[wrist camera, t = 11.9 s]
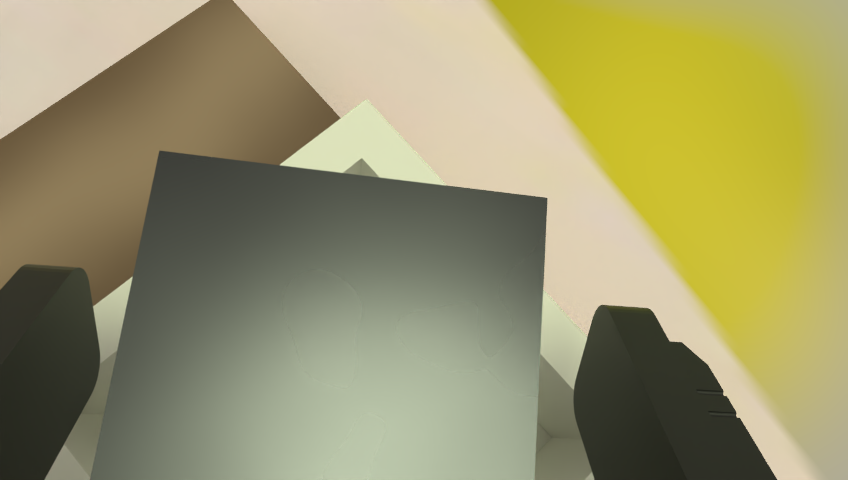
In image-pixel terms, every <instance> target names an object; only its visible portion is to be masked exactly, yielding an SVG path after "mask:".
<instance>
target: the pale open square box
mask: <svg viewBox="0 0 848 480" xmlns="http://www.w3.org/2000/svg"><path fill="white" fill-rule="evenodd" d="M280 165H282V166H290V167H298V168H306V169H315V170H323V171H331V172H339V173H347V174H355V175H364V176H372V177H380V178H388V179H396V180H404V181H413V182H421V183H429V184H437V185H445V186H447V185H446V184H445V183H444V182H443V181H442V180H441V179H440V177H439V176H438V175H437V174H436V173H435V172H434V171H433V170H432V169H431V168H430V167H429V166H428V165H427V163H426V162H425V161H424V160H423V159H422V158H421V157H420V156H419V155H418V154H417V153H416V152H415V151H414V149H413V148H412V147H411V146H410V145H409V144H408V143H407V142H406V141H405V140H404V139H403V138H402V137H401V135H400V134H399V133H398V132H397V131H396V130H395V129H394V128H393V127H392V126H391V125H390V124H389V122H388V121H387V120H386V119H385V118H384V117H383V116H382V115H381V114H380V113H379V112H378V111H377V110H376V108H375V107H374V106H373V105H372V104H371V103H370V102H369V101H368V100H367V99H366V100H364V101H363V102H362V103H360V104H359V105H358V106H356V107H355V108H354V109H352V110H351V111H350V112H348V113H347V114H346V115H344V116H343V117H342V118H341V119H339V120H338V121H337V122H335V123H334V124H333V125H331V126H330V127H329V128H327V129H326V130H325V131H323V132H322V133H321V134H319V135H318V136H317V137H316V138H314V139H313V140H312V141H310V142H309V143H308V144H306V145H305V146H304V147H302V148H301V149H300V150H298V151H297V152H296V153H294V154H293V155H292V156H291V157H289V158H288V159H287V160H285V161H284V162H283V163H281V164H280ZM132 278H133V277H131V278H130V279H129V280H127V281H126V282H125V283H123V284H122V285H121V286H119V287H118V288H117V289H116V290H114V291H113V292H112V293H110V294H109V295H108V296H106V297H105V298H104V299H102V300H101V301H100V302H98V303H97V304H96V305H94V306H93V309H94V316H95V322H96V328H97V335H98V341H99V348H100V368H99V374H98V378H97V382H96V385H95V388H94V390H93V392H92V395H91V396H90V398H89V400H88V402H87V404H86V405H85V407H84V409H83V411H82V413H81V414H80V416H79V418H78V420H77V422H76V424H75V425H74V427H73V429H72V431H71V433H70V434H69V436H68V438H67V440H66V442H65V443H64V445H63V447H62V449H61V451H60V453H59V454H58V456H57V458H56V460H55V462H54V463H53V465H52V467H51V469H50V471H49V472H48V474H47V476H46V478H45V480H90V477H91V472H92V468H93V463H94V458H95V453H96V449H97V444H98V439H99V434H100V430H101V425H102V420H103V415H104V411H105V406H106V401H107V396H108V392H109V387H110V382H111V377H112V373H113V368H114V363H115V358H116V354H117V349H118V344H119V339H120V335H121V330H122V325H123V320H124V316H125V311H126V306H127V301H128V297H129V292H130V287H131V282H132ZM586 341H587V336H586V335H585V334H584V333H583V332H582V331H581V330H580V328H579V327H578V326H577V325H576V324H575V323H574V322H573V321H572V320H571V319H570V318H569V317H568V316H567V314H566V313H565V312H564V311H563V310H562V309H561V308H560V307H559V306H558V305H557V304H556V303H555V301H554V300H553V299H552V298H551V297H550V296H549V295H548V294H547V293H546V292H545V291H544V290H543V304H542V326H541V348H540V370H539V392H538V414H537V436H536V458H535V480H594V476H593V473H592V470H591V467H590V464H589V461H588V457H587V454H586V451H585V448H584V445H583V442H582V438H581V435H580V432H579V429H578V426H577V423H576V419H575V414H574V403H573V396H574V385H575V380H576V376H577V373H578V369H579V366H580V362H581V359H582V355H583V351H584V348H585V344H586Z"/></svg>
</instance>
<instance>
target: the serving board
mask: <svg viewBox="0 0 848 480" xmlns="http://www.w3.org/2000/svg"><path fill="white" fill-rule="evenodd" d="M339 119H341V118H340V117H339V116H338V115H337V114H336V113H335V112H334V111H333V109H332V108H331V107H330V106H329V105H328V104H327V103H326V102H325V101H324V100H323V99H322V97H321V96H320V95H319V94H318V93H317V92H316V91H315V90H314V89H313V88H312V87H311V85H310V84H309V83H308V82H307V81H306V80H305V79H304V78H303V77H302V76H301V75H300V73H299V72H298V71H297V70H296V69H295V68H294V67H293V66H292V65H291V64H290V63H289V61H288V60H287V59H286V58H285V57H284V56H283V55H282V54H281V53H280V52H279V51H278V49H277V48H276V47H275V46H274V45H273V44H272V43H271V42H270V41H269V40H268V39H267V37H266V36H265V35H264V34H263V33H262V32H261V31H260V30H259V29H258V28H257V27H256V25H255V24H254V23H253V22H252V21H251V20H250V19H249V18H248V17H247V16H246V15H245V13H244V12H243V11H242V10H241V9H240V8H239V7H238V6H237V5H236V4H235V2H234V1H233V0H210V1H208V2H207V3H205V4H204V5H202V6H201V7H199V8H198V9H196V10H195V11H193V12H192V13H190V14H189V15H187V16H186V17H184V18H183V19H181V20H180V21H178V22H177V23H175V24H174V25H172V26H171V27H169V28H168V29H166V30H165V31H163V32H162V33H160V34H159V35H157V36H156V37H154V38H153V39H151V40H150V41H148V42H147V43H145V44H144V45H142V46H141V47H139V48H138V49H136V50H135V51H133V52H132V53H130V54H129V55H127V56H126V57H124V58H123V59H121V60H120V61H118V62H116V63H115V64H113V65H112V66H110V67H109V68H107V69H106V70H104V71H103V72H101V73H100V74H98V75H97V76H95V77H94V78H92V79H91V80H89V81H88V82H86V83H85V84H83V85H82V86H80V87H79V88H77V89H76V90H74V91H73V92H71V93H70V94H68V95H67V96H65V97H64V98H62V99H61V100H59V101H58V102H56V103H55V104H53V105H52V106H50V107H49V108H47V109H46V110H44V111H43V112H41V113H40V114H38V115H37V116H35V117H34V118H32V119H31V120H29V121H28V122H26V123H25V124H23V125H22V126H20V127H19V128H17V129H16V130H14V131H13V132H11V133H9V134H8V135H6V136H5V137H3V138H2V139H0V290H1V288H2V287H3V286H4V285H5V284H6V283H7V282H8V281H9V279H10V278H11V277H12V276H13V275H14V274H15V273H16V272H17V270H18V269H19V268H20V267H22V266H23V265H25V264H36V265H50V266H65V267H79V268H82V269H84V270H85V272H86V274H87V276H88V279H89V284H90V290H91V297H92V303H93V306H94V305H96V304H97V303H98V302H100V301H101V300H102V299H104V298H105V297H106V296H108V295H109V294H110V293H112V292H113V291H114V290H116V289H117V288H118V287H119V286H121V285H122V284H123V283H125V282H126V281H127V280H129V279H130V278H131V277H133V273H134V268H135V263H136V259H137V254H138V249H139V244H140V240H141V235H142V230H143V225H144V221H145V216H146V211H147V206H148V202H149V197H150V192H151V187H152V183H153V178H154V173H155V169H156V164H157V159H158V154H159V151H168V152H176V153H184V154H192V155H200V156H208V157H217V158H225V159H233V160H241V161H249V162H257V163H266V164H274V165H280V164H281V163H283V162H284V161H285V160H287V159H288V158H289V157H291V156H292V155H293V154H294V153H296V152H297V151H298V150H300V149H301V148H302V147H304V146H305V145H306V144H308V143H309V142H310V141H312V140H313V139H314V138H316V137H317V136H318V135H319V134H321V133H322V132H323V131H325V130H326V129H327V128H329V127H330V126H331V125H333V124H334V123H335V122H337V121H338V120H339Z"/></svg>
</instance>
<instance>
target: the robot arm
mask: <svg viewBox="0 0 848 480" xmlns="http://www.w3.org/2000/svg"><path fill="white" fill-rule="evenodd" d="M99 368H100V348H99V341H98V335H97V328H96V322H95V316H94V309H93V303H92V297H91V290H90V284H89V279H88V276H87V274H86V272H85V270H84V269H82V268H79V267H65V266H50V265H36V264H25V265H23V266H22V267H20V268H19V269H18V270H17V272H16V273H15V274H14V275H13V276H12V277H11V278H10V279H9V281H8V282H7V283H6V284H5V285H4V286H3V287H2V288H1V290H0V480H45V478H46V476H47V474H48V472H49V471H50V469H51V467H52V465H53V463H54V462H55V460H56V458H57V456H58V454H59V453H60V451H61V449H62V447H63V445H64V443H65V442H66V440H67V438H68V436H69V434H70V433H71V431H72V429H73V427H74V425H75V424H76V422H77V420H78V418H79V416H80V414H81V413H82V411H83V409H84V407H85V405H86V404H87V402H88V400H89V398H90V396H91V395H92V392H93V390H94V388H95V385H96V382H97V378H98V374H99ZM573 403H574V414H575V419H576V423H577V426H578V429H579V432H580V435H581V438H582V442H583V445H584V448H585V451H586V454H587V457H588V461H589V464H590V467H591V470H592V473H593V476H594V480H777V479H776V477H775V475H774V474H773V472H772V470H771V469H770V467H769V465H768V464H767V462H766V461H765V459H764V457H763V456H762V454H761V452H760V451H759V449H758V447H757V446H756V444H755V442H754V441H753V439H752V437H751V436H750V434H749V432H748V431H747V429H746V427H745V426H744V424H743V422H742V421H741V419H740V418H737V417H736V411H735V409H734V408H733V406H732V404H731V403H730V401H729V399H728V398H727V396H724V395H723V389H722V388H721V386H720V384H719V383H718V381H717V379H716V378H715V376H714V374H713V373H712V371H711V369H710V368H709V366H708V365H707V364H706V363H705V362H704V361H702V360H701V359H700V358H699V357H698V356H697V355H696V354H694V353H693V352H692V351H691V350H690V349H689V348H688V347H686V346H685V345H684V344H683V343H682V342H669V340H668V338H667V336H666V334H665V333H664V331H663V329H662V327H661V325H660V324H659V322H658V320H657V318H656V316H655V315H654V313H653V312H652V311H651V310H650V309H648V308H638V307H624V306H609V305H601V306H599V307H598V308H597V310H596V312H595V314H594V317H593V320H592V323H591V327H590V330H589V334H588V337H587V341H586V344H585V348H584V351H583V355H582V359H581V362H580V366H579V369H578V373H577V376H576V380H575V385H574V396H573Z"/></svg>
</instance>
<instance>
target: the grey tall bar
mask: <svg viewBox="0 0 848 480" xmlns="http://www.w3.org/2000/svg"><path fill="white" fill-rule="evenodd" d="M546 215H547V198H543V197H535V196H527V195H519V194H510V193H502V192H494V191H486V190H478V189H470V188H462V187H453V186H445V185H437V184H429V183H421V182H413V181H404V180H396V179H388V178H380V177H372V176H364V175H355V174H347V173H339V172H331V171H323V170H315V169H306V168H298V167H290V166H282V165H274V164H266V163H257V162H249V161H241V160H233V159H225V158H217V157H208V156H200V155H192V154H184V153H176V152H168V151H159V154H158V159H157V164H156V169H155V173H154V178H153V183H152V187H151V192H150V197H149V202H148V206H147V211H146V216H145V221H144V225H143V230H142V235H141V240H140V244H139V249H138V254H137V259H136V263H135V268H134V273H133V278H132V282H131V287H130V292H129V297H128V301H127V306H126V311H125V316H124V320H123V325H122V330H121V335H120V339H119V344H118V349H117V354H116V358H115V363H114V368H113V373H112V377H111V382H110V387H109V392H108V396H107V401H106V406H105V411H104V415H103V420H102V425H101V430H100V434H99V439H98V444H97V449H96V453H95V458H94V463H93V468H92V472H91V477H90V480H535V458H536V436H537V414H538V392H539V370H540V348H541V326H542V304H543V282H544V260H545V237H546Z"/></svg>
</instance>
